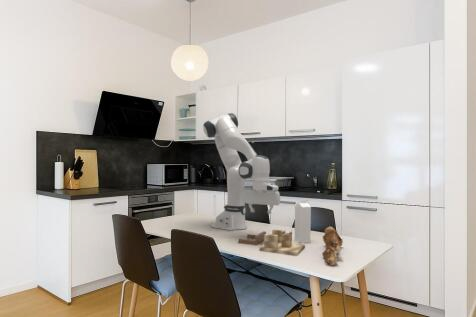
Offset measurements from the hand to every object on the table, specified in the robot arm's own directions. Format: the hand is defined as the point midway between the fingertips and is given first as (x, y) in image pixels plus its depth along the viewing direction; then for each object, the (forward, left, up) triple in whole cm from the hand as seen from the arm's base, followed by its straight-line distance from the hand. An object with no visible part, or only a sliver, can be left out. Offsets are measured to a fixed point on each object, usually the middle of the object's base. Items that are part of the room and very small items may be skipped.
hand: (260, 213), depth 170 cm
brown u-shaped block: (-5, 0, -15) cm, 16 cm away
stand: (+14, -7, -15) cm, 22 cm away
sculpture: (+36, -5, -16) cm, 40 cm away
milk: (+19, +13, -16) cm, 28 cm away
